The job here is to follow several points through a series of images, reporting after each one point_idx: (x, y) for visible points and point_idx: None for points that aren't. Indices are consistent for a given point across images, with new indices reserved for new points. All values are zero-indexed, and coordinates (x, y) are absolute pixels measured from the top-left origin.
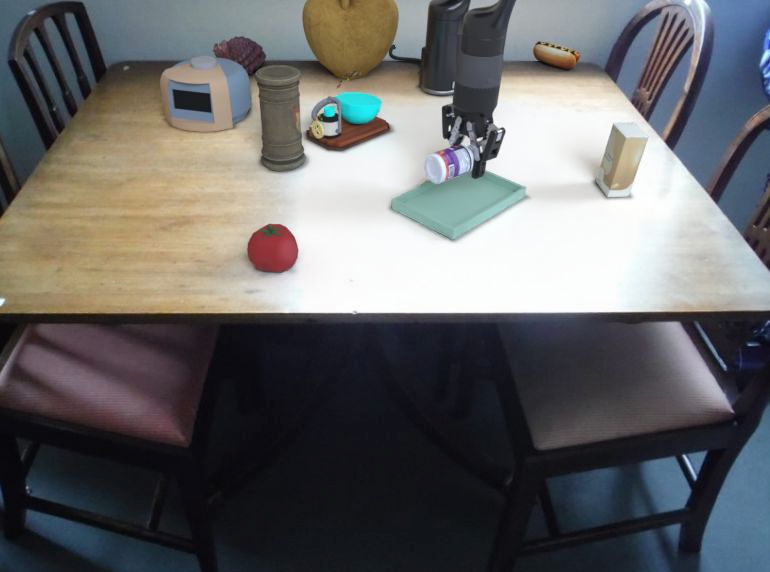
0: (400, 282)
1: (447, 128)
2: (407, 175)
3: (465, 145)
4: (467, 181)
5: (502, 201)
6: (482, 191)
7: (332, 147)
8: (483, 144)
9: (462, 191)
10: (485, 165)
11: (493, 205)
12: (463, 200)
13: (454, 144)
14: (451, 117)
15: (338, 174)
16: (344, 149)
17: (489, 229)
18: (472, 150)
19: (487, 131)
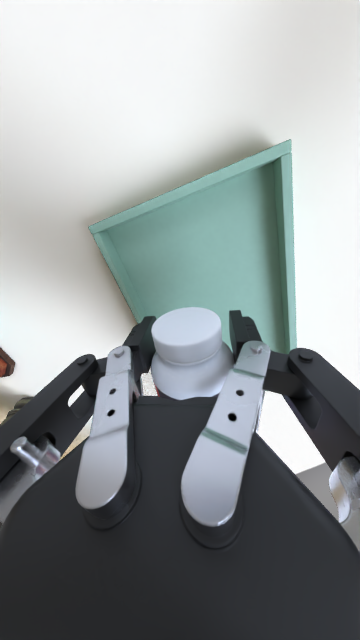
0: (307, 440)
1: (89, 415)
2: (97, 329)
3: (185, 390)
4: (154, 257)
5: (294, 267)
6: (205, 254)
7: (10, 372)
8: (261, 402)
9: (186, 291)
10: (258, 335)
11: (291, 296)
12: (214, 308)
13: (140, 376)
14: (59, 454)
15: (79, 390)
16: (11, 360)
17: (313, 318)
18: (199, 361)
19: (285, 465)
